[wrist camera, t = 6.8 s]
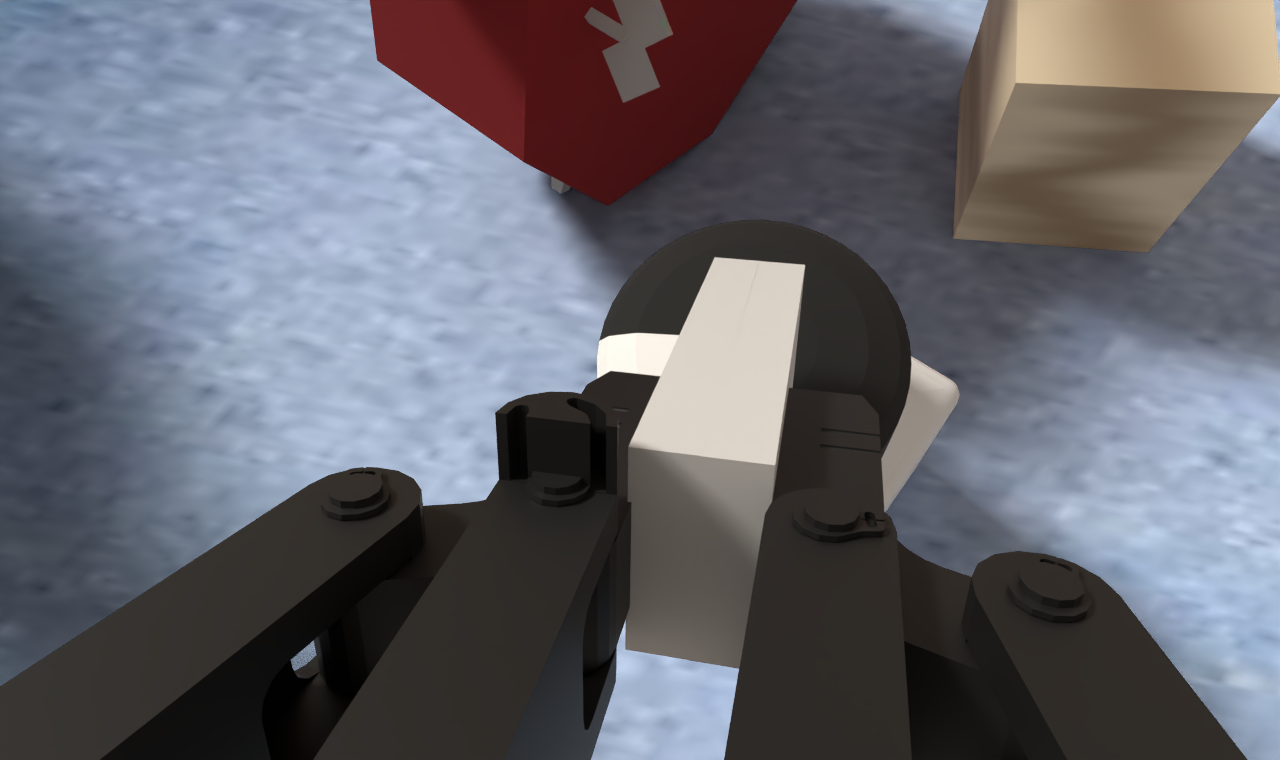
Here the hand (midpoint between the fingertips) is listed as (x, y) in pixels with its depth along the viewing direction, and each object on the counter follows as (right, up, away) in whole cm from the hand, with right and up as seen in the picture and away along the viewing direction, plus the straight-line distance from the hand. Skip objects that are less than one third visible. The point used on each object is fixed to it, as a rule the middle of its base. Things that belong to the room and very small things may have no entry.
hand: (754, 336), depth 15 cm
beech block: (+12, +6, +15) cm, 20 cm away
